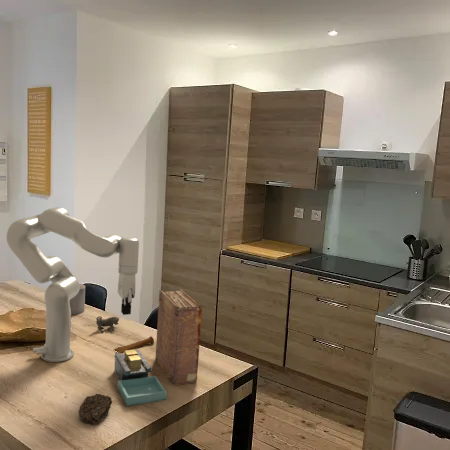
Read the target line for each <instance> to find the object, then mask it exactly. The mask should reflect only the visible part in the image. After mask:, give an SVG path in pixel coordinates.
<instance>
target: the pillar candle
mask: <svg viewBox="0 0 450 450" xmlns="http://www.w3.org/2000/svg"><path fill="white" fill-rule="evenodd" d="M79 286H80V289H79V292H78V294H77V295H76V296H75V297H73V298H72V299H71V300H70V301H69V304H70V309H71V315H78V314H82V313H84V312H85V308H86V307H85V304H86V285H84V284H82V283H79Z"/></svg>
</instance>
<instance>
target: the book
mask: <svg viewBox="0 0 450 450" xmlns="http://www.w3.org/2000/svg"><path fill="white" fill-rule="evenodd" d="M158 292H159V293H158V307H157V308H158V310H157V326H156V339H155V340H156V341H155V361H156V362H157V364H159V366H160V368H161V369H162V371H163V372H164V374H165V375H166V376H167V378H168V380H169V381H170V382H171V384H172V385H173V386H178V385H179V386H180V385H189V384H196V383H197V382H198V371H199V370H198V369H199V356H200V354H199V353H200V344H201V342H200V341H201V331H202V319H203V318H202V317H203V316H202V315H203V307H202V306H201V305H200V304H199V303H197V301H195V300H194V299H193V298H191V296H189V295H188V294H187V293H186V292H185V291H184V290H182V289H178V290H175V291H174V290H173V291H172V290H171V291H162V289H159V291H158Z"/></svg>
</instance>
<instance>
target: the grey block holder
mask: <svg viewBox="0 0 450 450" xmlns="http://www.w3.org/2000/svg"><path fill="white" fill-rule="evenodd" d="M135 351H136V352H137V354H138V355H139V356H140V358H141V367H137V368H130V367H129V365H128V362H126V360H125V358H124V355H125V353H122V354H120V353H119V352H118V353H117V352H114V353H115V354H114V373H115V375H116V376H117V378H118V381H120V380H128V379H135V378H142V377H149V373H153V370H152V366H151V365H150V364H149V362H148V361H147V359H146V358H145V356H144V355H143V353H142V352H141V351H140V350H139V349H138V350H135Z"/></svg>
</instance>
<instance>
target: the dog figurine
mask: <svg viewBox="0 0 450 450" xmlns="http://www.w3.org/2000/svg"><path fill="white" fill-rule="evenodd" d="M119 321H120V318H119V317H118V316H117V317H116V316H111V317H108V318H104V319H103V317H102V316H101V315H100V316H97V317H96V323H95V324H96V325H97V330H99V332H100V333H101V334H102V333H103V334H104V331H103V329H104V328H106V327H107V329H108V330H110V331H115V327H116V326H117V325H119ZM114 325H115V326H114Z"/></svg>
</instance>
